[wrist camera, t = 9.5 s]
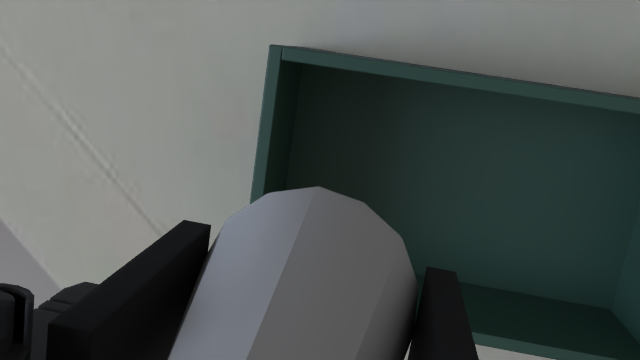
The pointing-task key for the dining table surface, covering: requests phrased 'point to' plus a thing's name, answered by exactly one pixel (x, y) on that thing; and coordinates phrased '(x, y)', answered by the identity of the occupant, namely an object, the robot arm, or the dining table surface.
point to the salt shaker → (301, 285)
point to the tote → (476, 188)
